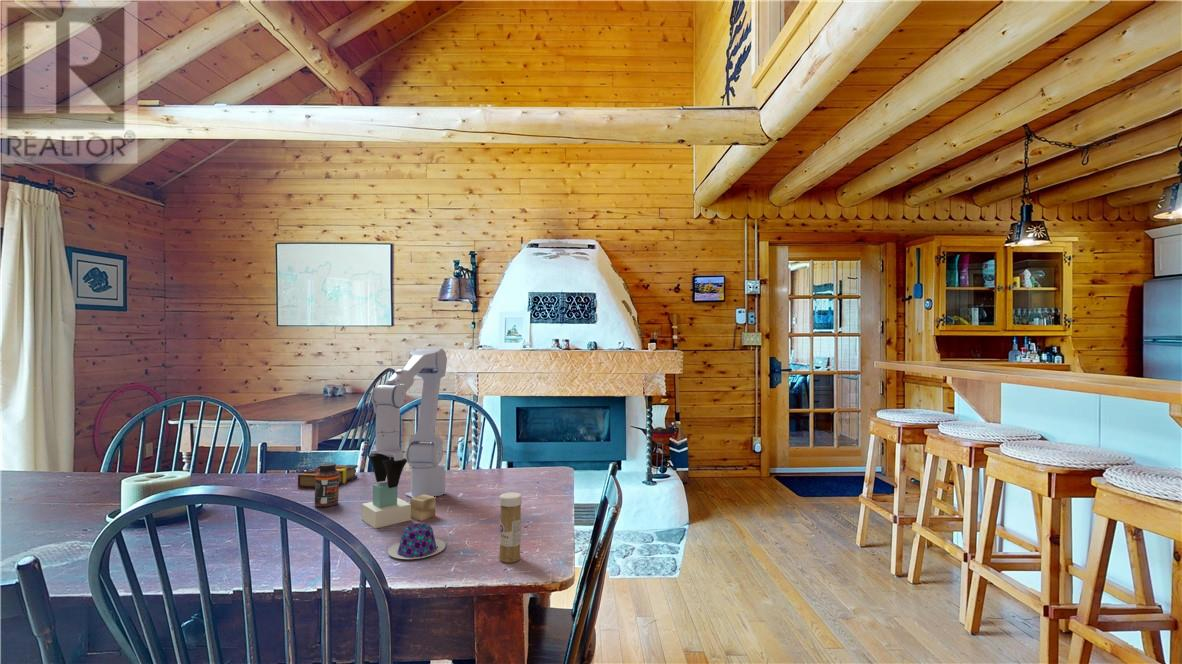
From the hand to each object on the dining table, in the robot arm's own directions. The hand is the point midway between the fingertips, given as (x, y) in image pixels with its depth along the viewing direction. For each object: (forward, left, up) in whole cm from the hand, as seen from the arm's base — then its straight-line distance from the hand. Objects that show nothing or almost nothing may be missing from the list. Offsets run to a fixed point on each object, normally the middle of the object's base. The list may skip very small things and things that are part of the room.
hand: (386, 484), depth 131 cm
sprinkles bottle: (-9, +42, -9) cm, 44 cm away
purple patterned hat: (+3, +24, -10) cm, 26 cm away
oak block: (-8, +4, -9) cm, 13 cm away
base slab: (0, 0, -9) cm, 9 cm away
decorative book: (-1, -49, -10) cm, 50 cm away
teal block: (0, 0, -5) cm, 5 cm away
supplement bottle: (+7, -24, -9) cm, 27 cm away
